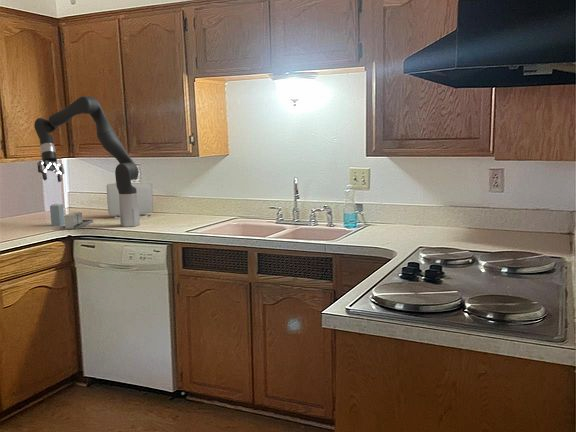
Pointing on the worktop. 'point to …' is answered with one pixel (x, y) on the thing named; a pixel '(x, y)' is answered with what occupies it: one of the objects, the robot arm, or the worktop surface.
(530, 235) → the worktop surface
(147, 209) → the network device
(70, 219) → the rail
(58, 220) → the block
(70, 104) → the robot arm
